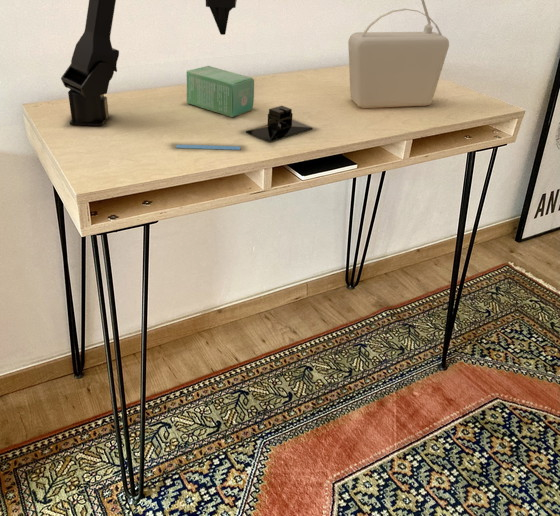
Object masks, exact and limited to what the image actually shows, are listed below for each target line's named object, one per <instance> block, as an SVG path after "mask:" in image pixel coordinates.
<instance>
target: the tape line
mask: <svg viewBox="0 0 560 516" xmlns="http://www.w3.org/2000/svg"><path fill="white" fill-rule="evenodd" d="M175 148H176V149H190V150H191V149H195V150H224V151H225V150H227V151H241V146H239V145H237V146H234V145H233V146H232V145H203V144H176V147H175Z"/></svg>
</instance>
